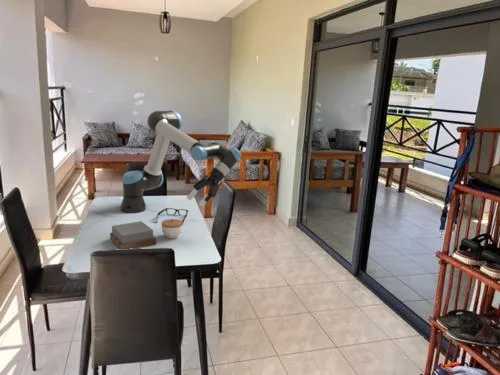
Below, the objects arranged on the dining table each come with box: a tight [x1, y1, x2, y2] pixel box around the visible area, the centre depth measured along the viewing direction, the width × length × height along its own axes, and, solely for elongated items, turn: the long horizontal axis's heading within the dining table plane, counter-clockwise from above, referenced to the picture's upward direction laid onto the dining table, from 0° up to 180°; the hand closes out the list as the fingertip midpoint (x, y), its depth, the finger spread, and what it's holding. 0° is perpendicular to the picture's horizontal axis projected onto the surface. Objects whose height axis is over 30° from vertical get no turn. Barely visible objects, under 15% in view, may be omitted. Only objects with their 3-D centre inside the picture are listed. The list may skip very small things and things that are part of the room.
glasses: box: [155, 207, 189, 224], centre depth 228 cm, size 17×18×5 cm
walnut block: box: [109, 232, 157, 250], centre depth 192 cm, size 17×17×4 cm
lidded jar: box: [161, 218, 184, 239], centre depth 201 cm, size 11×11×9 cm
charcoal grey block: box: [111, 220, 154, 244], centre depth 191 cm, size 15×15×4 cm
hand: (194, 202), depth 205 cm, fingers open, 13 cm apart
